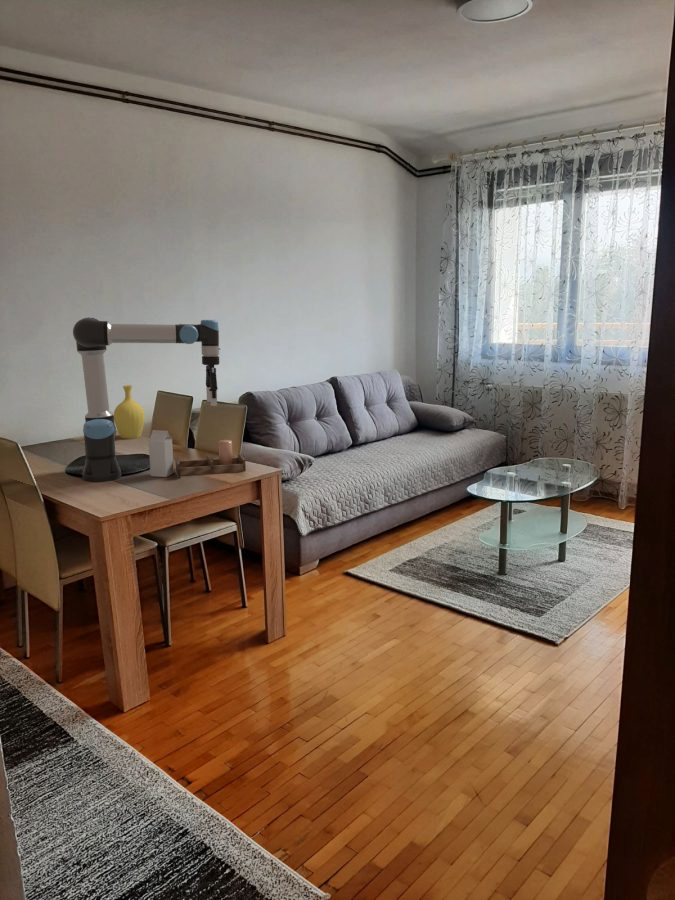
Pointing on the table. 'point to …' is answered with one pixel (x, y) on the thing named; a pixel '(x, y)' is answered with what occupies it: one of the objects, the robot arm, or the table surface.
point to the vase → (129, 416)
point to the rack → (208, 466)
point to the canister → (225, 452)
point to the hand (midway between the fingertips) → (211, 403)
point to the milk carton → (160, 454)
